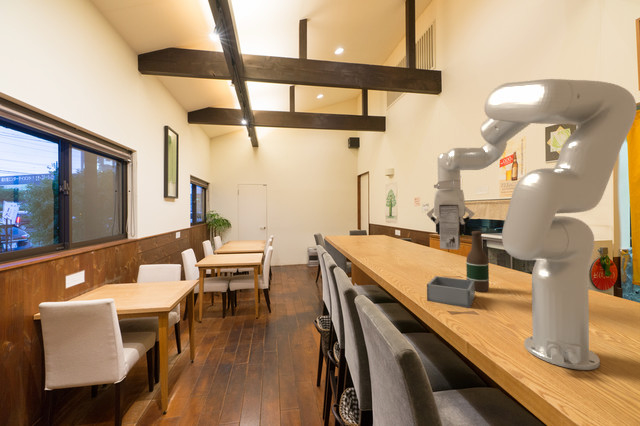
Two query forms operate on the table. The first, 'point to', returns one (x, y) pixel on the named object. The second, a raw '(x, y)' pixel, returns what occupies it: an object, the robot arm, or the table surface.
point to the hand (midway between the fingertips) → (450, 234)
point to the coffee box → (449, 226)
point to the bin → (451, 291)
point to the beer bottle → (478, 264)
